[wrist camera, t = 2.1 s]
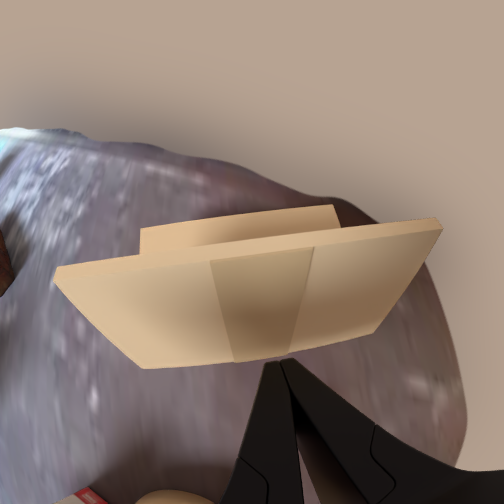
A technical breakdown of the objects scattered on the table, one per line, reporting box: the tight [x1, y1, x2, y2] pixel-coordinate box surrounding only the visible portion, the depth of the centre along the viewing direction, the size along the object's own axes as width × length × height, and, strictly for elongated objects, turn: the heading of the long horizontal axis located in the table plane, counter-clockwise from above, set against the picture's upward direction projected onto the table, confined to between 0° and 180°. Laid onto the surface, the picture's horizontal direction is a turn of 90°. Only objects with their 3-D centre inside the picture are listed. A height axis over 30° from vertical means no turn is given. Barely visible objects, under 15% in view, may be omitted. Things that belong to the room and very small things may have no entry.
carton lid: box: [53, 218, 443, 369], centre depth 11 cm, size 9×14×1 cm
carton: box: [140, 204, 341, 254], centre depth 20 cm, size 9×14×6 cm, turn 99°
